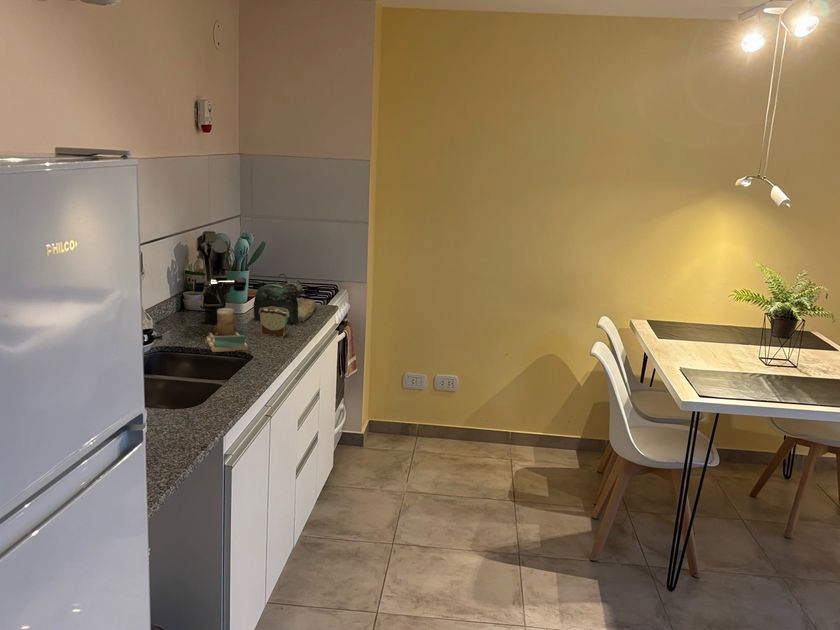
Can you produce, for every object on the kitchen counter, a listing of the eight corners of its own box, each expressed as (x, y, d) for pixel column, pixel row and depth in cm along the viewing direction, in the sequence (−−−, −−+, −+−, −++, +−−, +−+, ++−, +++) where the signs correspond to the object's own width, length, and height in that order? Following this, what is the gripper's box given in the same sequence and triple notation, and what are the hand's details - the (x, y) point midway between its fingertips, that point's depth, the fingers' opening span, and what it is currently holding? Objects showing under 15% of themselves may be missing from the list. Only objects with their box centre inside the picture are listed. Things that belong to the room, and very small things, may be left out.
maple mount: (206, 340, 279) (206, 326, 278) (240, 338, 284) (240, 325, 283) (212, 351, 265) (212, 337, 264) (247, 350, 269) (247, 336, 268)
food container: (294, 334, 294) (295, 309, 292) (287, 338, 289) (287, 312, 286) (266, 330, 298) (266, 305, 296) (258, 333, 292) (258, 308, 290)
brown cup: (215, 336, 278) (215, 308, 276) (232, 335, 280) (232, 308, 278) (218, 340, 273) (218, 312, 270) (235, 339, 275) (235, 311, 273)
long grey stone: (283, 325, 315) (308, 327, 315) (284, 312, 313) (309, 315, 314) (296, 303, 349) (318, 305, 349) (297, 292, 347) (319, 294, 347)
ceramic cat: (302, 323, 314) (303, 274, 309) (296, 326, 307) (297, 277, 303) (257, 317, 318) (258, 270, 314) (250, 321, 312) (251, 272, 308)
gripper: (240, 280, 299) (245, 314, 291) (190, 281, 292) (193, 316, 284) (244, 263, 290) (248, 298, 283) (192, 264, 283) (196, 299, 276)
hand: (222, 303), depth 282 cm, fingers closed
